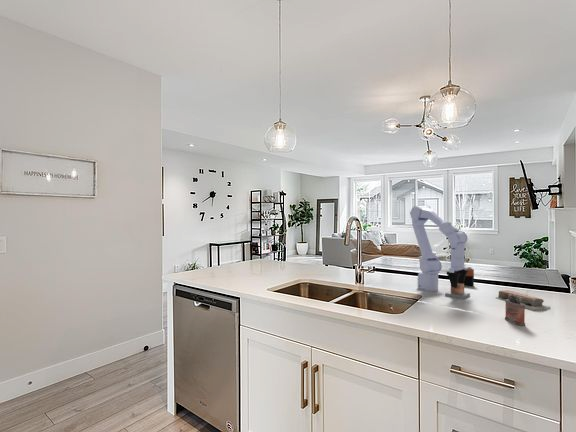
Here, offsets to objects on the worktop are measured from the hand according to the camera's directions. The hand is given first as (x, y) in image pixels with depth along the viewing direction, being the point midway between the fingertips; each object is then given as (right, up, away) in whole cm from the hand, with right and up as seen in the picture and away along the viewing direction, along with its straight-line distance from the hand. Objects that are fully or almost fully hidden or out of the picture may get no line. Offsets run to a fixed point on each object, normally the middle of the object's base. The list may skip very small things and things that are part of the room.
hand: (457, 286), depth 157 cm
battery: (+18, -5, +26) cm, 32 cm away
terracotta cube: (0, -3, 0) cm, 3 cm away
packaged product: (+23, -6, -11) cm, 26 cm away
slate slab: (0, -5, 0) cm, 5 cm away
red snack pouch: (+3, -6, -35) cm, 35 cm away
